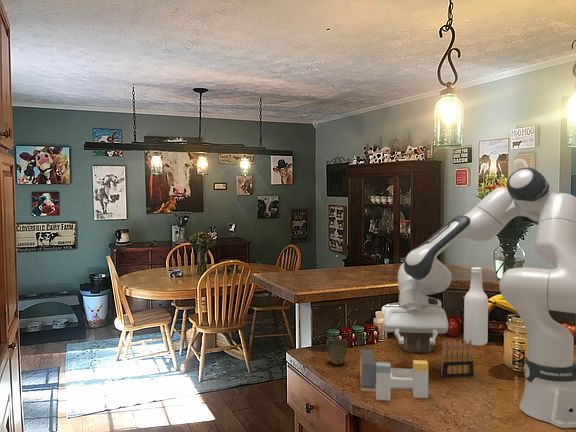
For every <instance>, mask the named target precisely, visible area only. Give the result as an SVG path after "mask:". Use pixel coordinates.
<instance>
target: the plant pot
mask: <svg viewBox="0 0 576 432" xmlns="http://www.w3.org/2000/svg"><path fill="white" fill-rule="evenodd" d="M396 305H399V303H397V304H396ZM399 334H400V336H401V337H404V344H399V345H400V346H399V347H400V349H402V350H403V351H405V352H408V353H414V354H417V353H420V354H427V353H428V354H429V353H431V352H433V350H434V345H430V342H429V339H430V338H433V336H432V333H413V332H399Z"/></svg>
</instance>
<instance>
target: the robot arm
mask: <svg viewBox="0 0 576 432" xmlns="http://www.w3.org/2000/svg"><path fill="white" fill-rule="evenodd" d="M516 217H520V219H521V221H523V222H525V223H530V224H533V225H535V226H536V227H537V229H536V235H535V241H534V250H535V252H536V254H537V255H538V257H539V258H541V259H542V260H543V261H545V262H546V263H549V264H550V265H553V266H554V268H539V267H516V268H515V267H514V268H508V269H506V270H505V272H504V273H503V274H502V275H501V277H500V280H499V285H498V286H499V291H500V294H501V297H502V298H503V300H504V301H505V302H506V303H508V304H509V305H510V306H511V307H512V308H513V309H514V310H515V311H516V312H517V314H518V316H519V317H520V318H521V321H522V322H523V325H524V329H525V335H526V348H527V349H526V356H525V360H524V371H523V372H524V377H525V383H524V386H523V387H524V390H523V392H522V397H521V400H520V402H519V405H518V406H519V409H520V410H521V411H522V412H523V413H524V414H525V415H527V416H530V417H531V418H534V419H536V420H539V421H542V422H546V423H549V424H552V425H553V426H556V427H557V428H558V427H559V428H562V429H571V428H573V429H574V428H576V362H574V344H575V343H574V341H575V340H574V336H573V333H572V332H571V331H570V330H569V329H568V328H567V327H566V326H564V325H563V324H561V323H559V322H557V321H556V320H555V319H554V318H552V316H551V315H550V313H549V311H554V312H561V313H570V314H576V196H574V195H572V194H570V193H566V192H565V193H564V192H557V193H556V191H555V190H554V188H553V186H552V185H551V184H550V183H549V181H548V180H546V178H545V176H544V175H543V174H542V173H541V172H539V171H538V170H536V169H535V168H533V167H526V166H525V167H521V168H519V169H517V170H515V171H513V172H512V173H511V174H510V175H509V176H508V178H507V181H506V187H504V186H500V187H496V188H495V189H493V190H492V191H490V192H489V193H488V194H486V196H485V197H483V198H482V199H481V200H480V201H479V202H478V203H477V204H476V205H475V206H474V207H473V208H472V209H470V210H469V211H468V212H467V213H465V214H463V215H458V216H455V217H453V218H452V219H450V220H449V221H448V222H447V223H445V224H444V225H443V226H442V227H440V229H438V230H437V231H436V232H435V233H433V234H432V235H431V236H430V237H429V238H427V239H426V240H425V241H424V242H422V243H421V244H420V245H418V246H416V247H415V248H413V249H411V250H410V251H409V252H408V253H407V254H406V255H405V258H404V262H403V263H402V264H400V266H399V268H398V272H397V288H398V291H399V295H398V302H399V303H398V304H399V305H397V304H385V305H384V306H382V307H381V309H380V310H381V315H382V317H383V320H382V321H383V323H382V324H383V325H382V329H383V331H385V332H386V333H387V332H388V333H394V336H395V337H396V338H397V340H398V345H400V344H404V337H401V336H400V334H399V332H413V333H432V336H433V338H430V339H429V342H430V345H433V346H436V338H437V337H438V334H446V333H447V332H448V330H449V321H448V316H447V314H446V310H445V309H443V308H442V307H443V306H442V301H441V299H437V298H434V297H431V295H436V294H440V293H443V292H445V291H446V290H448V288H449V287H450V286H451V284H452V281H453V273H452V272H451V270H450V269H449V268H448V267H447V266H445V265H444V264H443V263H442V262H441V261H440V260H439V259H438V258H437V257H438V256H439V255H440V254H441V253H442V252H443V251H445V250H446V249H447V248H448V247H449V246H450V245H451V244H453V243H454V242H455V241H458V240H459V239H468V240H471V241H474V242H475V241H476V242H487V241H490V240H493V239H494V238H496V236H497V235H499V233H500V232H501V231H502V230H503V229H504V228H505V227H506V225H507V224H508V223H510V221H512V219H514V218H516Z"/></svg>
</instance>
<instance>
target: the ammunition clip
mask: <svg viewBox="0 0 576 432" xmlns="http://www.w3.org/2000/svg"><path fill="white" fill-rule="evenodd" d="M441 348H442V349H441V356H440V357H441V360H440V371H439V376H440V377H441V378H442V379H447V378H449V379H451V378H468V377H469V378H470V377H471V378H472V377H475V376H474V375H475V374H474V373H475V372H474V369H475V368H474V357H473V356H474V353H473V345H472V342H471V339H470V340H469V344H467V343H466V340H464V339H463V344H462V341H461V339H459V340H458V341H457V342H456V340H455V339H454V340H453V342H452V343H451V339H448V341H447V343H446V340H443V342H442V347H441Z"/></svg>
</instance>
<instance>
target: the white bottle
mask: <svg viewBox="0 0 576 432" xmlns="http://www.w3.org/2000/svg"><path fill="white" fill-rule="evenodd" d="M470 271H471V272H470V273H471V275H470V276H471V277H470V285H469V287H470V288H469V290H468V291H467V292H466V293H465V295H464V300H463V302H464V303H463V304H464V306H463V307H464V308H463V341H464V340H466V343H467V345H468V344H469V340H470V339H471V342H472V346H475V347H482V346H486V345H487V343H488V341H489V339H488V338H489V336H488V333H489V332H488V328H489V299H488V295H487V294H486V293H485V291H484V287H483V286H484V285H483V276H482V275H483V268H482V267H479V266H473V267H471V270H470Z"/></svg>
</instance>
